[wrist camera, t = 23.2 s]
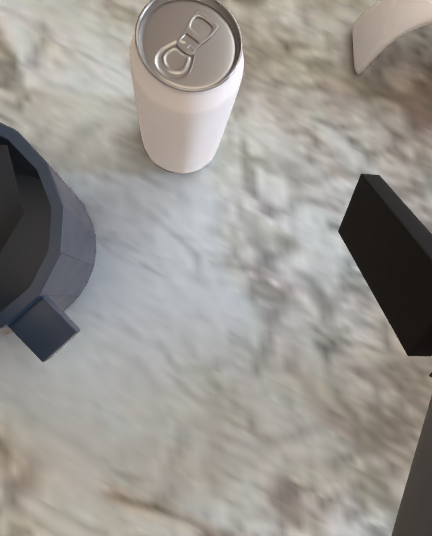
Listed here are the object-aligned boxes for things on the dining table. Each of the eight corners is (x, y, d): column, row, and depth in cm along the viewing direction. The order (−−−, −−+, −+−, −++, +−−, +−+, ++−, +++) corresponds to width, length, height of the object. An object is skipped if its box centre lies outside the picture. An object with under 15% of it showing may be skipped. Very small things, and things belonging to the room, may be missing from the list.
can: (125, 144, 30) (99, 46, 18) (171, 85, 31) (174, -44, 19) (190, 190, 31) (205, 124, 19) (233, 131, 32) (273, 32, 20)
